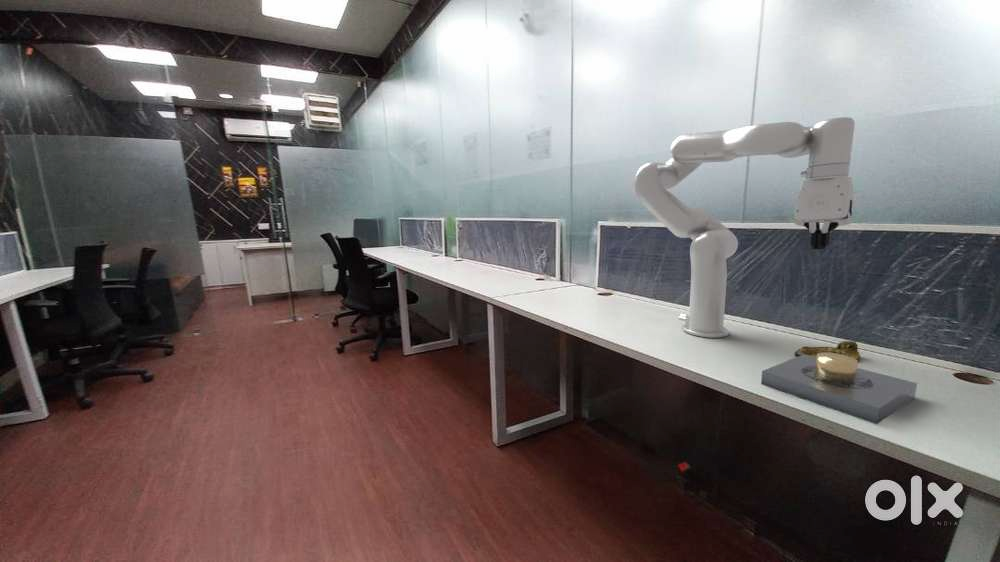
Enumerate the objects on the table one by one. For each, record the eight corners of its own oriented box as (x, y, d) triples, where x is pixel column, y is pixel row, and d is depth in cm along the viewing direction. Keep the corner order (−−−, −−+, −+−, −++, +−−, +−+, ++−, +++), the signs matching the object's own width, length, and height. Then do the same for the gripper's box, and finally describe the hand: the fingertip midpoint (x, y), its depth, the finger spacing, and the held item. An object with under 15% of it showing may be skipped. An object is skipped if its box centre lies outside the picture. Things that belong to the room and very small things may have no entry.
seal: (812, 370, 86) (874, 367, 86) (816, 352, 84) (879, 349, 84) (782, 352, 95) (838, 349, 95) (785, 335, 93) (842, 333, 93)
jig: (761, 383, 77) (762, 370, 76) (802, 366, 85) (804, 354, 84) (877, 424, 61) (879, 408, 60) (914, 397, 69) (917, 383, 68)
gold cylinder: (807, 386, 74) (811, 356, 73) (821, 380, 77) (825, 350, 76) (845, 399, 69) (849, 366, 68) (858, 391, 72) (863, 359, 71)
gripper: (783, 177, 91) (776, 248, 94) (862, 168, 78) (851, 251, 81) (798, 177, 95) (791, 246, 98) (876, 169, 81) (865, 249, 84)
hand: (818, 248), depth 89 cm, fingers closed
